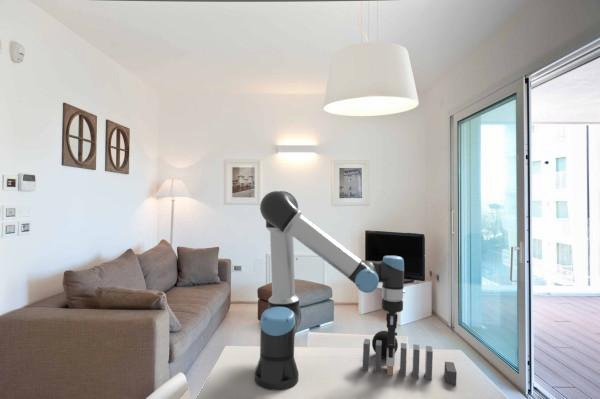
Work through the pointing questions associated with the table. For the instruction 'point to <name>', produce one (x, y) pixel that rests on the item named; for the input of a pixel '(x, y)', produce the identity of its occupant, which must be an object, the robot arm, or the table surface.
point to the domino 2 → (378, 356)
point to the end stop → (450, 373)
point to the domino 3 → (390, 369)
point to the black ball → (383, 342)
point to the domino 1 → (366, 354)
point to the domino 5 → (416, 361)
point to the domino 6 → (428, 362)
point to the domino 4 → (403, 359)
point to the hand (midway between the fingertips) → (390, 359)
